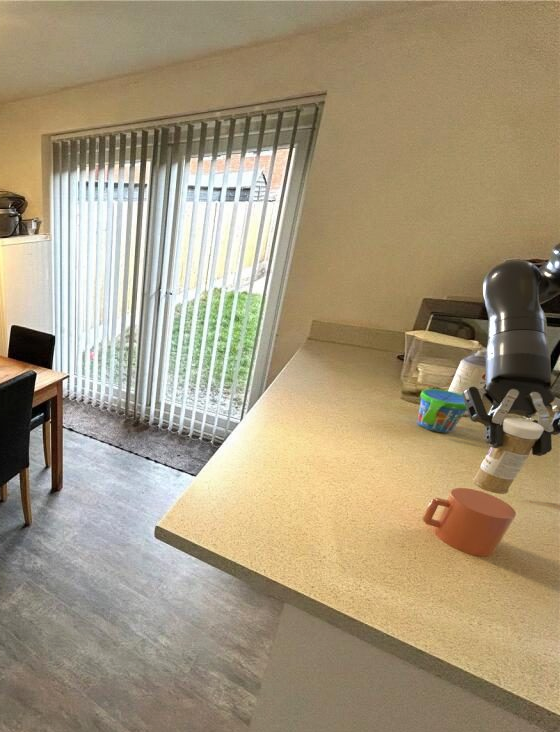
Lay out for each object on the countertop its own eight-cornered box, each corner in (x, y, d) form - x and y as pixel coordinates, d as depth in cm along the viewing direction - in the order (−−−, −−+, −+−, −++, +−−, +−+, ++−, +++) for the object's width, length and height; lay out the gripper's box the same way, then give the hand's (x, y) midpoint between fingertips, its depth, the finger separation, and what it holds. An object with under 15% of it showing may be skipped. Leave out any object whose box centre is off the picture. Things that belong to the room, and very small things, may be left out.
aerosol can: (470, 418, 119) (499, 356, 111) (439, 411, 123) (465, 351, 116) (471, 411, 123) (499, 351, 115) (442, 404, 128) (466, 346, 120)
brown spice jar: (469, 476, 74) (500, 413, 69) (503, 484, 72) (539, 420, 66) (475, 489, 71) (508, 424, 65) (511, 498, 68) (549, 432, 63)
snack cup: (426, 414, 122) (438, 384, 118) (470, 429, 113) (485, 397, 109) (397, 425, 116) (408, 394, 112) (441, 442, 107) (456, 409, 103)
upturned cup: (483, 532, 77) (503, 496, 74) (502, 563, 71) (525, 524, 67) (413, 514, 82) (428, 479, 79) (424, 541, 75) (442, 504, 72)
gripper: (474, 346, 71) (472, 434, 66) (593, 357, 64) (600, 456, 59) (452, 364, 77) (449, 445, 72) (558, 376, 71) (562, 466, 66)
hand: (517, 450), depth 66 cm, fingers closed on brown spice jar, 4 cm apart
